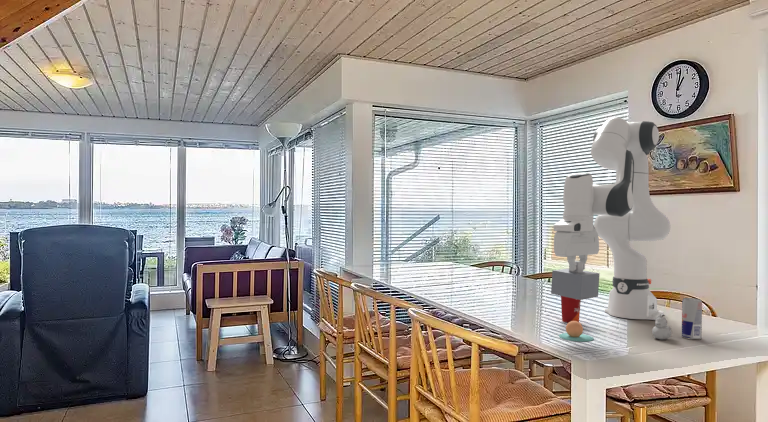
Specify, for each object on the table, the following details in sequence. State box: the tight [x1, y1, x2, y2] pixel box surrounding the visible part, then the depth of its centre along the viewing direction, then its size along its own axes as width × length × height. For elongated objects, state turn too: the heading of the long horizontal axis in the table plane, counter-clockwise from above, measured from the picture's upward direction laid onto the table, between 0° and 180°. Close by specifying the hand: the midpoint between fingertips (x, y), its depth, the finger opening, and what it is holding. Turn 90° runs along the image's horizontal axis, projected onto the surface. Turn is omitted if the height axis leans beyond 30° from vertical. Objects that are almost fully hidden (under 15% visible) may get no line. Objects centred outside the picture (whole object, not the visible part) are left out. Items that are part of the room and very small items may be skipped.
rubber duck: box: [651, 314, 672, 341], centre depth 163 cm, size 5×7×8 cm
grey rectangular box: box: [550, 260, 601, 301], centre depth 164 cm, size 10×10×10 cm
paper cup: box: [560, 296, 582, 324], centre depth 187 cm, size 8×8×14 cm
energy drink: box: [681, 297, 703, 340], centre depth 165 cm, size 5×5×12 cm
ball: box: [565, 321, 584, 337], centre depth 164 cm, size 5×5×5 cm
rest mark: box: [558, 332, 595, 343], centre depth 163 cm, size 10×10×1 cm
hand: (577, 270), depth 163 cm, fingers closed on grey rectangular box, 3 cm apart
